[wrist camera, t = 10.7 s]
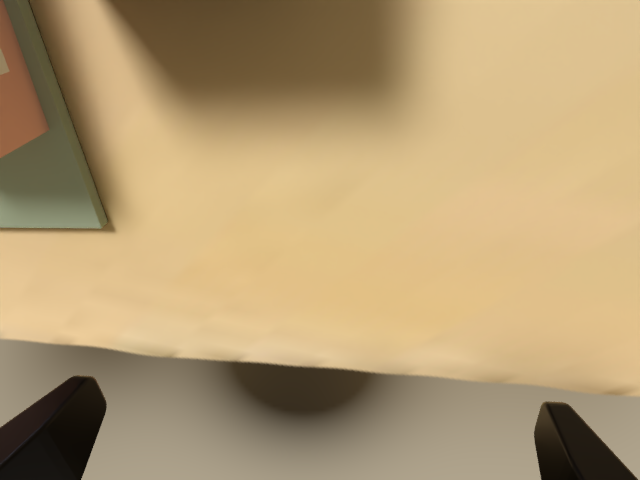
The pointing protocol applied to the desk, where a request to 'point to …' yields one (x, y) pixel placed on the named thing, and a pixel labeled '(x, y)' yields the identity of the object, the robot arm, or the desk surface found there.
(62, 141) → the green block
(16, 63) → the pink block
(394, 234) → the desk surface
